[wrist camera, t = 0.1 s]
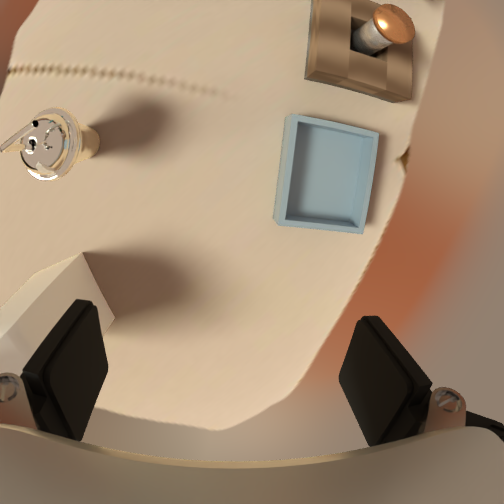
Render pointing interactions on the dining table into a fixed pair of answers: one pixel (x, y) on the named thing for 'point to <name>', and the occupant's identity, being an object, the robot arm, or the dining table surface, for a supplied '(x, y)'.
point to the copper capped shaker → (382, 30)
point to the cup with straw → (53, 144)
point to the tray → (324, 175)
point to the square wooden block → (355, 53)
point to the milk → (45, 309)
